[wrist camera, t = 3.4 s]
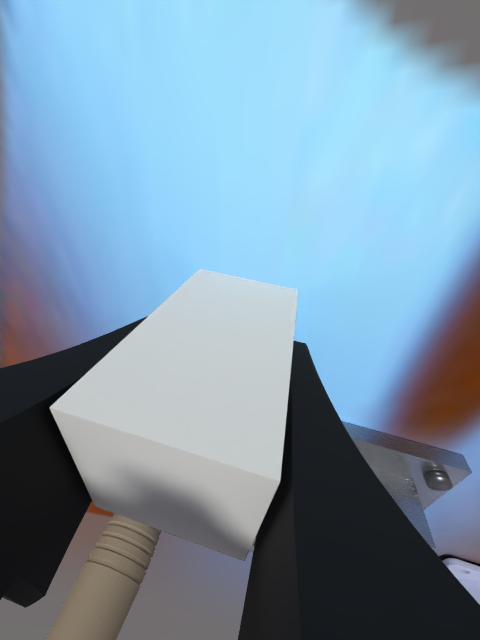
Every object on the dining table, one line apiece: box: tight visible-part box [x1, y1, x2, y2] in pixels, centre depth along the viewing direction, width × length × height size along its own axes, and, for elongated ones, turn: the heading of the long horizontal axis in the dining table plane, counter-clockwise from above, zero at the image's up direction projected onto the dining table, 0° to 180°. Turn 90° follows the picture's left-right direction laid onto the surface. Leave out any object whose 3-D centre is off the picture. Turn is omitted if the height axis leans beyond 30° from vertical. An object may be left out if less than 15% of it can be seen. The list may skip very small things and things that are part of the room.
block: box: [49, 269, 298, 561], centre depth 8 cm, size 4×4×7 cm
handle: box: [46, 513, 161, 640], centre depth 15 cm, size 5×6×15 cm
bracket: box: [249, 422, 472, 552], centre depth 14 cm, size 11×11×4 cm
